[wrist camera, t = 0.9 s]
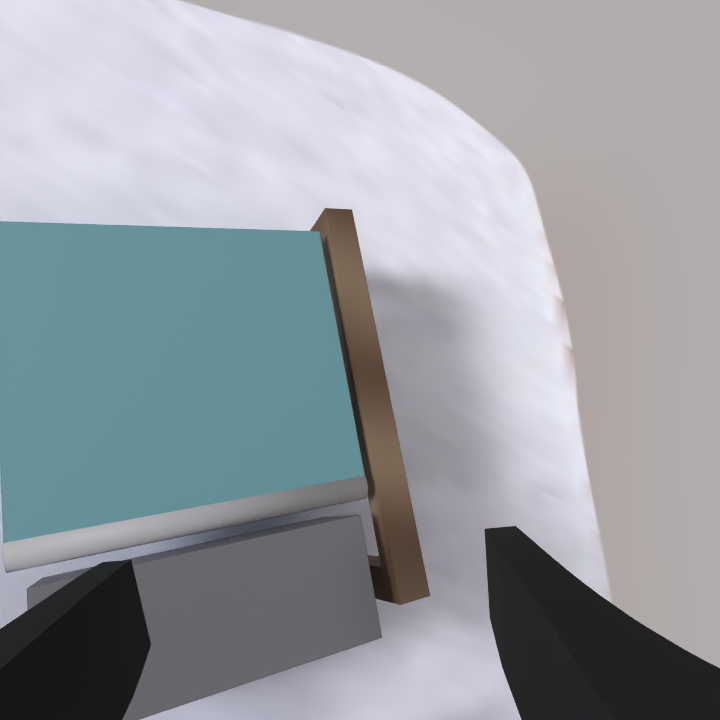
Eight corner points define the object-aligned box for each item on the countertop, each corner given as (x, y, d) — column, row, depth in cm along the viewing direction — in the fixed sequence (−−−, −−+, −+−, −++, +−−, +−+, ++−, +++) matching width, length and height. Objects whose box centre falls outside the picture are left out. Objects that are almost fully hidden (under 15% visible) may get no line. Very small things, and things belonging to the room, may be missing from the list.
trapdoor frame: (365, 582, 24) (430, 595, 19) (-21, 692, 18) (-69, 752, 13) (309, 266, 27) (351, 209, 22) (-33, 265, 21) (-75, 187, 16)
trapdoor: (349, 616, 22) (395, 633, 18) (31, 714, 17) (11, 762, 14) (290, 272, 25) (320, 230, 22) (10, 273, 20) (-11, 219, 17)
